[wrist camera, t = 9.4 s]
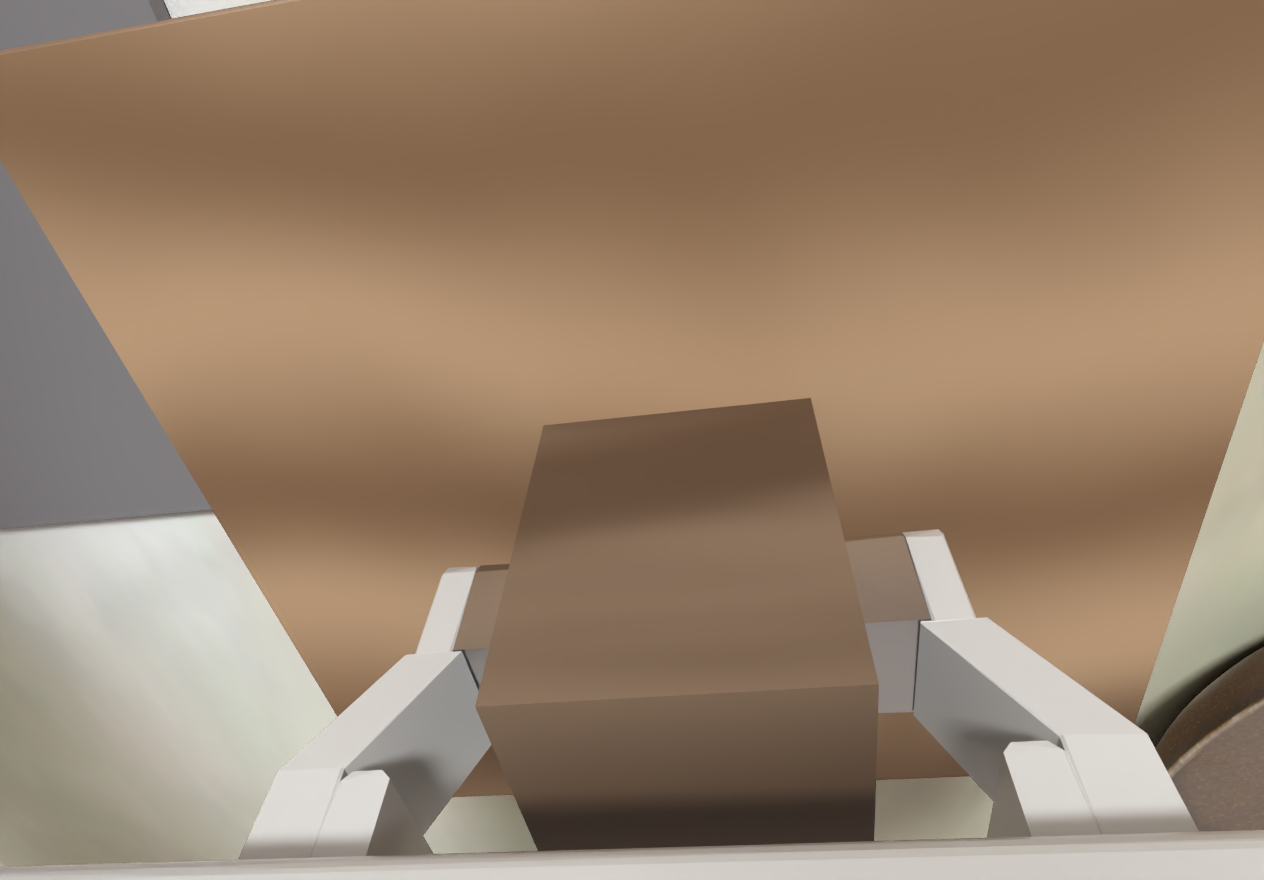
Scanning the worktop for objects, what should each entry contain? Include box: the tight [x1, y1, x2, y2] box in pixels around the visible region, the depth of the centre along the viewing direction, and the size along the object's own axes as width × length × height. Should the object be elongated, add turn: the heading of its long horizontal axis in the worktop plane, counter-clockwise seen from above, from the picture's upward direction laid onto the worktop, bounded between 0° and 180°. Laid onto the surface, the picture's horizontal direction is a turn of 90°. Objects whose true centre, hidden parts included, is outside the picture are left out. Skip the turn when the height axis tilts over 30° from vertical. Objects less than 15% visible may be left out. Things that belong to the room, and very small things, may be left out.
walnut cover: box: [0, 0, 1264, 851], centre depth 11 cm, size 16×16×6 cm
